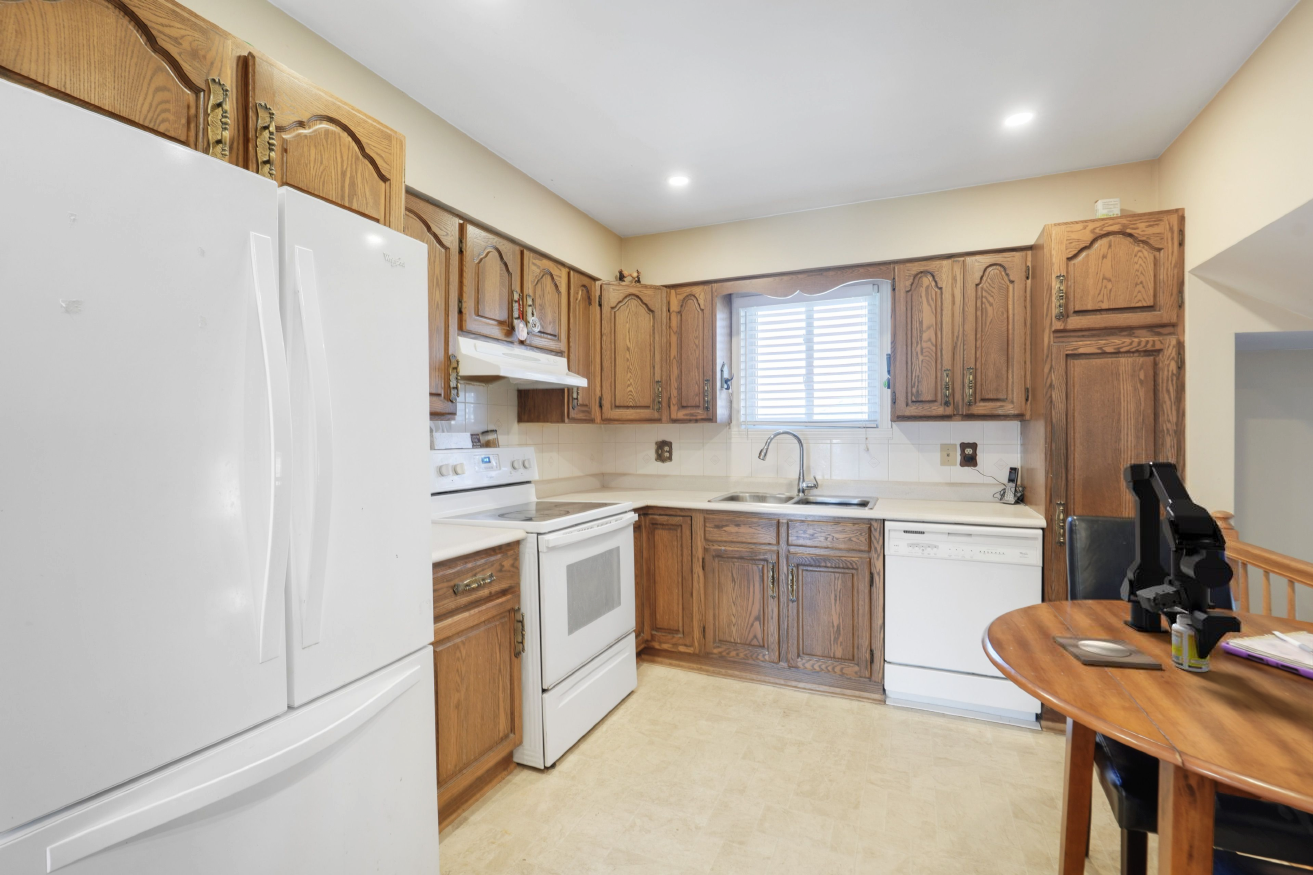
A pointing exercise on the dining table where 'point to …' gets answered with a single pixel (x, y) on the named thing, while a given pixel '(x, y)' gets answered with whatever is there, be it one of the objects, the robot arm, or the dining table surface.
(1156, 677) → the dining table surface
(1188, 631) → the supplement bottle
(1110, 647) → the board
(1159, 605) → the robot arm
